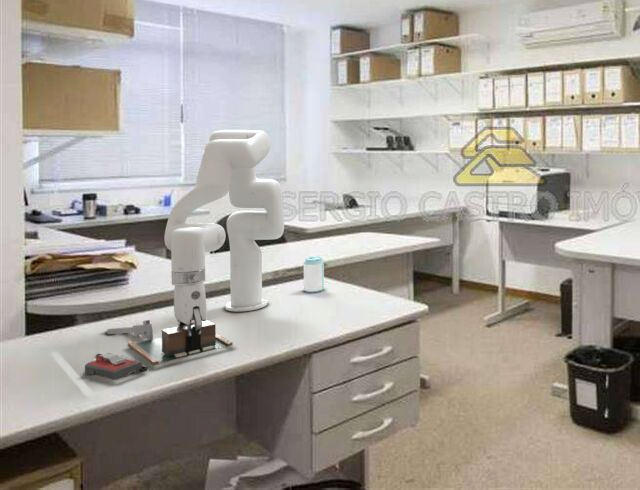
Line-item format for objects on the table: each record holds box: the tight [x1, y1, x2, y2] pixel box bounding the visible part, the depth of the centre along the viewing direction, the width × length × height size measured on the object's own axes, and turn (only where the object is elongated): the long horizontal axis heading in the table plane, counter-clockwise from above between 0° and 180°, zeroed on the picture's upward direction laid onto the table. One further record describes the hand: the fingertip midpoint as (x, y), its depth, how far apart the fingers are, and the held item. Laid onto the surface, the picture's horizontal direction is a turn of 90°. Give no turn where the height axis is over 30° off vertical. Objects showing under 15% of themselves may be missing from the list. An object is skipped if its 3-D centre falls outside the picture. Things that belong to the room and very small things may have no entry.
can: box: [303, 256, 325, 293], centre depth 209 cm, size 7×7×12 cm
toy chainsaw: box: [84, 352, 148, 380], centre depth 134 cm, size 9×4×20 cm
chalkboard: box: [127, 333, 233, 366], centre depth 149 cm, size 20×18×2 cm
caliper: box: [104, 319, 154, 341], centre depth 157 cm, size 20×1×6 cm, turn 63°
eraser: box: [161, 319, 217, 357], centre depth 145 cm, size 5×11×6 cm, turn 137°
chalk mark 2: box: [202, 346, 213, 351], centre depth 145 cm, size 1×2×1 cm, turn 137°
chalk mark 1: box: [175, 352, 187, 357], centre depth 141 cm, size 1×2×1 cm, turn 137°
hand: (189, 347), depth 145 cm, fingers closed on eraser, 5 cm apart
